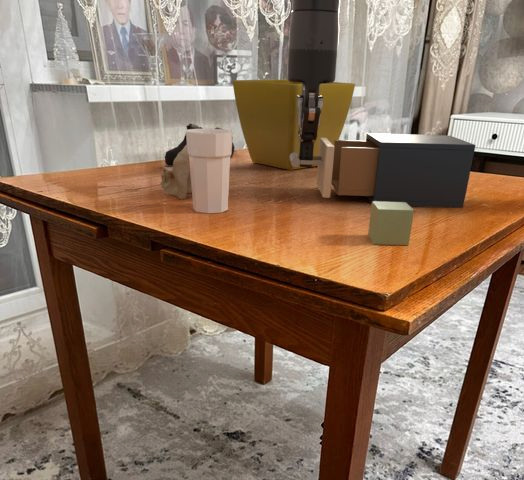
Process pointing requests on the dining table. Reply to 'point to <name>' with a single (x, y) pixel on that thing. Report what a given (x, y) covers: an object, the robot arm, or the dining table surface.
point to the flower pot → (286, 117)
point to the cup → (209, 168)
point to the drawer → (344, 167)
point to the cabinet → (422, 169)
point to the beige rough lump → (178, 176)
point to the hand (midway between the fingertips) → (305, 166)
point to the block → (390, 223)
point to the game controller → (174, 152)
